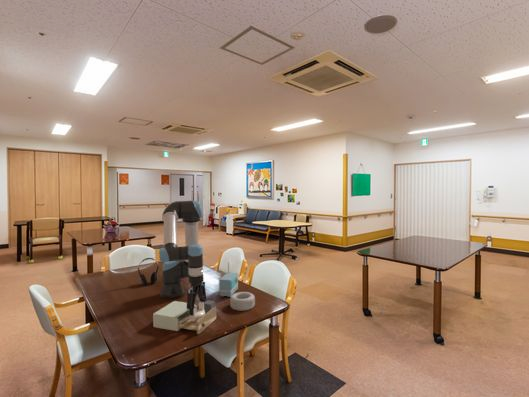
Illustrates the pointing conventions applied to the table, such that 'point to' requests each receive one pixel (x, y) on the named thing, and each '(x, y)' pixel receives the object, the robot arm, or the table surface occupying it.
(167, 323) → the drawer cabinet
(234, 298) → the donut shape
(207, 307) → the block
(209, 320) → the wooden drawer
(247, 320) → the table surface
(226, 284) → the radio
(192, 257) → the robot arm
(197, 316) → the white smooth rounded piece
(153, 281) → the headphones
